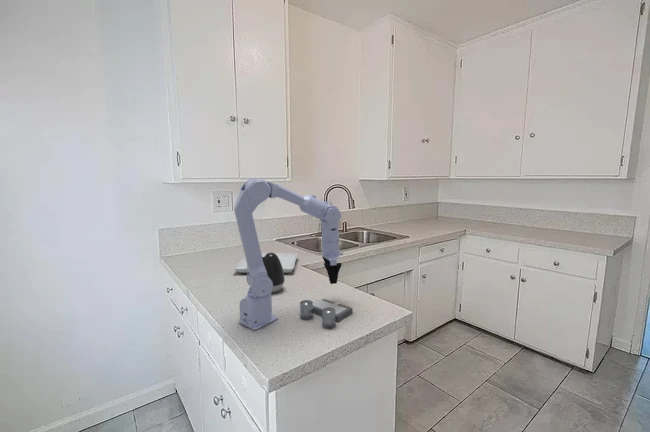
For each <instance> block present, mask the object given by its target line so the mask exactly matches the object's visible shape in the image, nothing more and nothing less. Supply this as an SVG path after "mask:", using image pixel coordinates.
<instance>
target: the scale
mask: <svg viewBox="0 0 650 432" xmlns="http://www.w3.org/2000/svg"><path fill="white" fill-rule="evenodd" d="M327 307H330V308H334V309H335V323H339V322H341V321H343V320H344V319H345V318H347V317H349V316H350V315H352V314H353V307H350V306H349V305H348V306H347V305H345V304H341V303H339V302H335V301H331V300H329V299H325V298H322V299H321V300H319V301H317V302H315V303H313V315H317V316H320V317H322V309H324V308H327Z"/></svg>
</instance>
